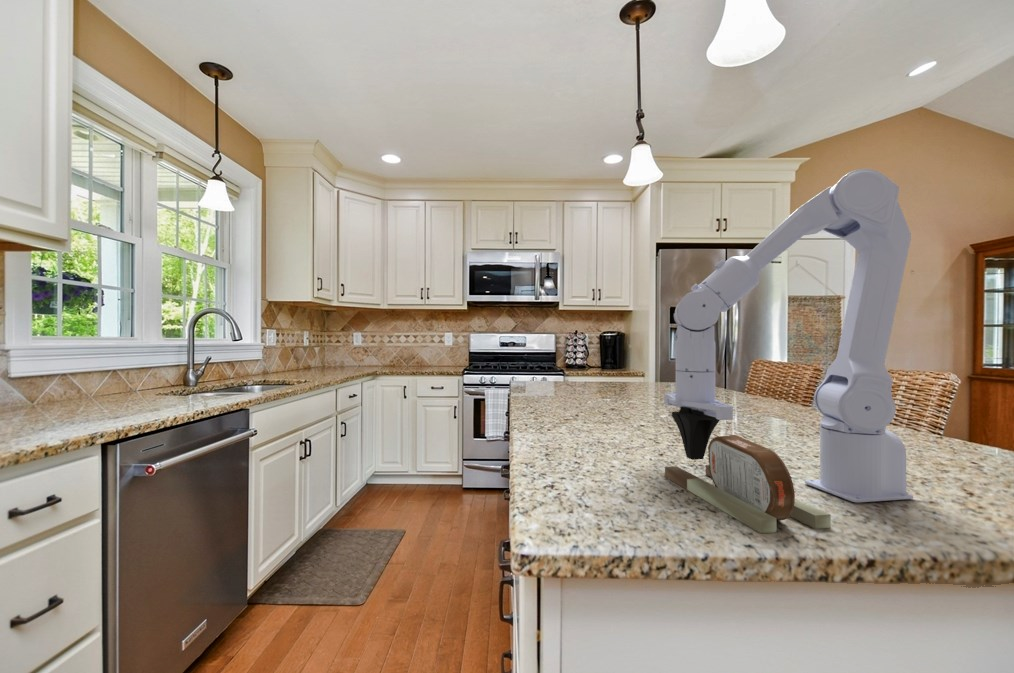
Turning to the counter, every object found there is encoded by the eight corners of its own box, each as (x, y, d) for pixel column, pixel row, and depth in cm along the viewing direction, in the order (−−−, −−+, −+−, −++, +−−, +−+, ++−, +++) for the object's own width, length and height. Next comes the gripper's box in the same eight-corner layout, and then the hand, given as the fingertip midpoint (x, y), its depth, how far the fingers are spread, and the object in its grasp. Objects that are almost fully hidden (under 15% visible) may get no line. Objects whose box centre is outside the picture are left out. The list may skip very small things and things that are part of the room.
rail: (716, 473, 69) (716, 464, 69) (830, 527, 49) (830, 514, 49) (664, 476, 67) (664, 466, 67) (760, 533, 47) (760, 519, 47)
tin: (797, 532, 48) (797, 456, 48) (770, 532, 48) (769, 457, 48) (725, 486, 63) (725, 429, 63) (703, 486, 63) (703, 429, 63)
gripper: (648, 368, 73) (647, 447, 73) (700, 374, 59) (700, 473, 59) (685, 367, 75) (685, 446, 74) (746, 374, 60) (746, 471, 60)
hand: (694, 458), depth 67 cm, fingers closed
